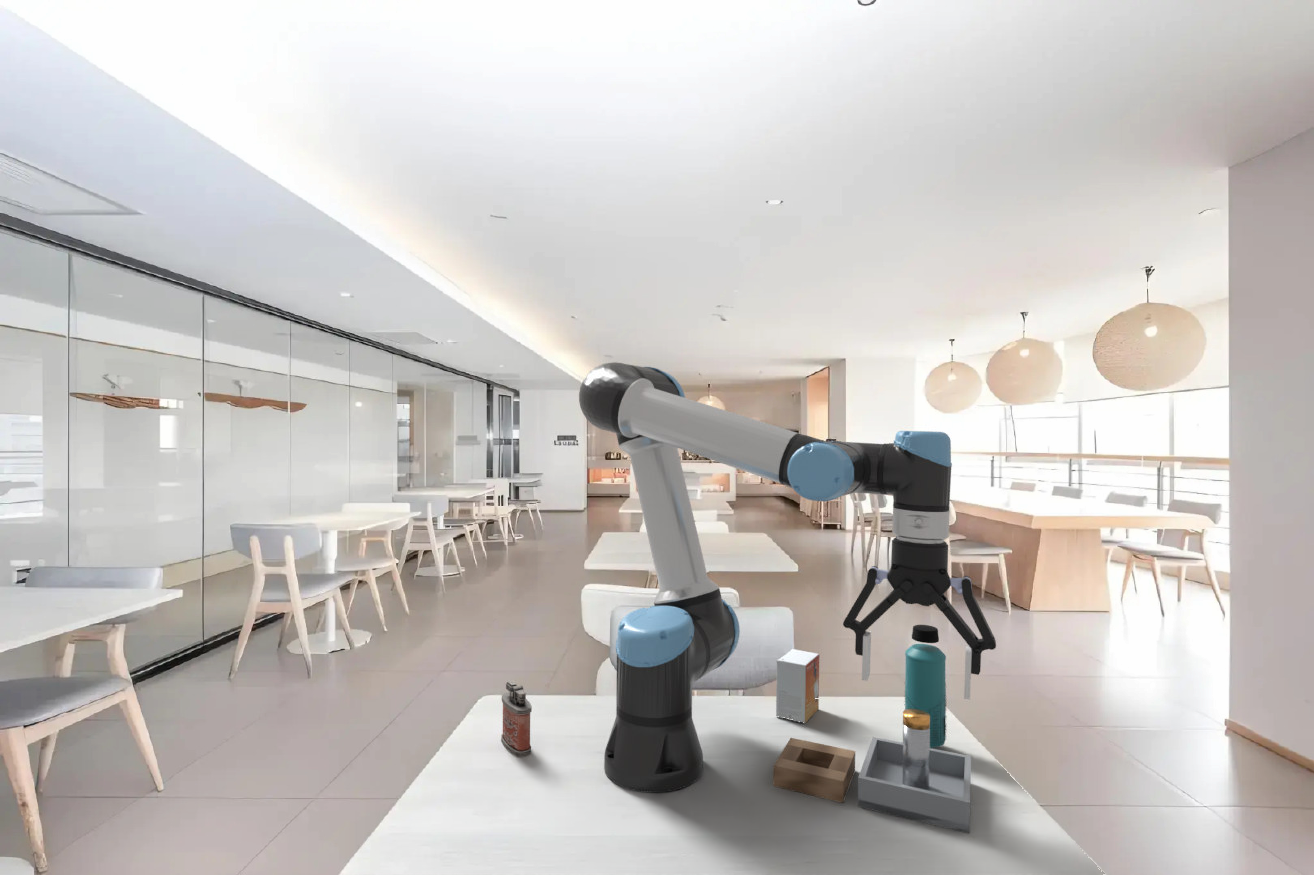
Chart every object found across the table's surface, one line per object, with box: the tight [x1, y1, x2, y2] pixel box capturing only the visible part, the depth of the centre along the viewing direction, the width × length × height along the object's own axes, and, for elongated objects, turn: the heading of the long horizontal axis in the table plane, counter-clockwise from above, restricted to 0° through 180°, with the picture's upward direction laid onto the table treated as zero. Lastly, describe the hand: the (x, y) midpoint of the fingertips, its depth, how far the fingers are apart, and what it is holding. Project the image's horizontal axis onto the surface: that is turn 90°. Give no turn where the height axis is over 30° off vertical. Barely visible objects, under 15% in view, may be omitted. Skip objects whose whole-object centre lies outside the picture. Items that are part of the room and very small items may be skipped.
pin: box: [902, 709, 931, 790], centre depth 96 cm, size 4×4×10 cm
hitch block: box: [772, 737, 856, 803], centre depth 101 cm, size 10×10×3 cm
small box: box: [775, 648, 820, 724], centre depth 124 cm, size 8×6×10 cm
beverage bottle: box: [903, 624, 948, 748], centre depth 111 cm, size 6×7×20 cm
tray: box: [857, 736, 972, 834], centre depth 96 cm, size 14×14×4 cm
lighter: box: [500, 679, 533, 758], centre depth 110 cm, size 8×3×10 cm, turn 34°
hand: (914, 686), depth 96 cm, fingers open, 13 cm apart
